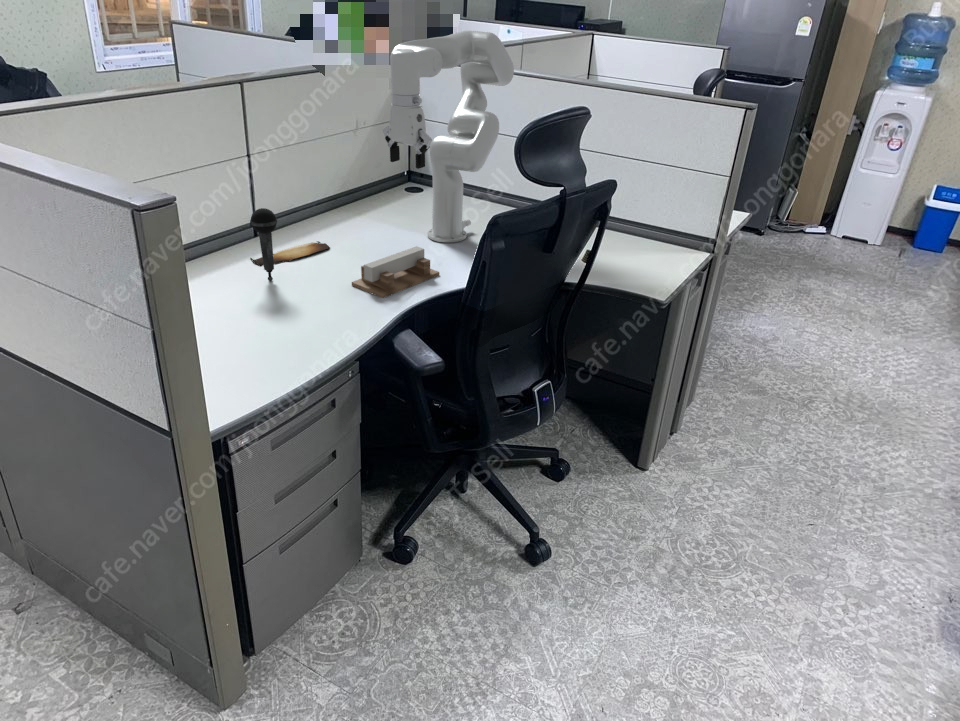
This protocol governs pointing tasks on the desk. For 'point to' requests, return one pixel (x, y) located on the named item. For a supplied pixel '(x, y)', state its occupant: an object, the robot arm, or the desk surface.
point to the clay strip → (393, 263)
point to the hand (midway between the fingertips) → (407, 164)
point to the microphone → (265, 236)
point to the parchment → (294, 252)
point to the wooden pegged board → (397, 279)
